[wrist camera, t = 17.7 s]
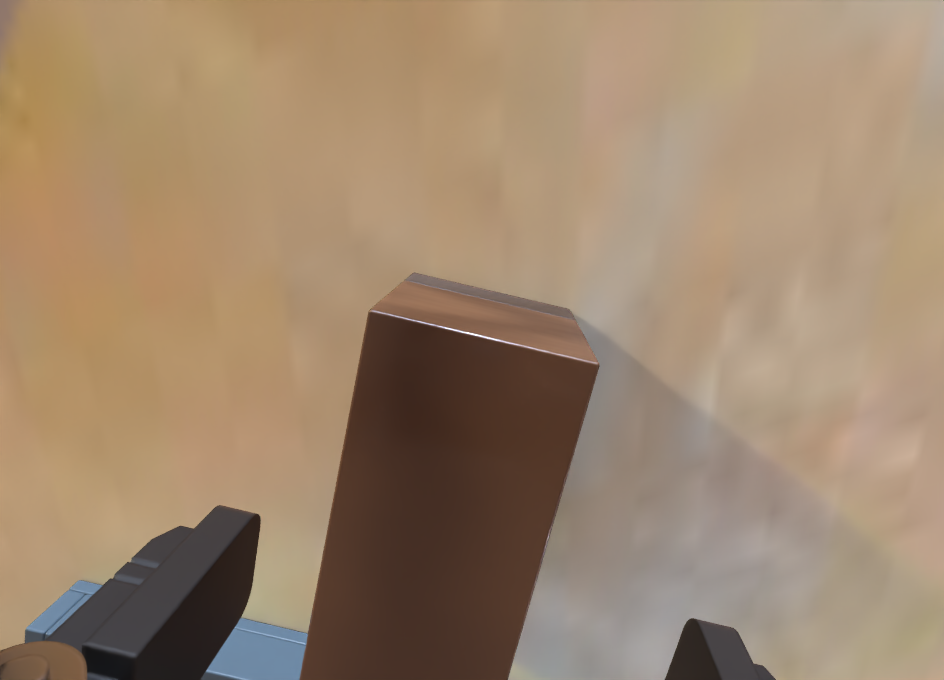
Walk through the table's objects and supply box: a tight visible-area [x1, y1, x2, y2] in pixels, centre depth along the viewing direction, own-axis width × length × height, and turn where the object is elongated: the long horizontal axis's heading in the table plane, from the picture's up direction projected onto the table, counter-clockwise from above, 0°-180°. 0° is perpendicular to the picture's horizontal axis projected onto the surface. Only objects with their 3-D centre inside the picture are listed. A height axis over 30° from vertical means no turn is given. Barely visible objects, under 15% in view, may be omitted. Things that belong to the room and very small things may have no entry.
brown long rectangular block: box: [299, 273, 599, 680], centre depth 15 cm, size 4×9×6 cm, turn 167°
